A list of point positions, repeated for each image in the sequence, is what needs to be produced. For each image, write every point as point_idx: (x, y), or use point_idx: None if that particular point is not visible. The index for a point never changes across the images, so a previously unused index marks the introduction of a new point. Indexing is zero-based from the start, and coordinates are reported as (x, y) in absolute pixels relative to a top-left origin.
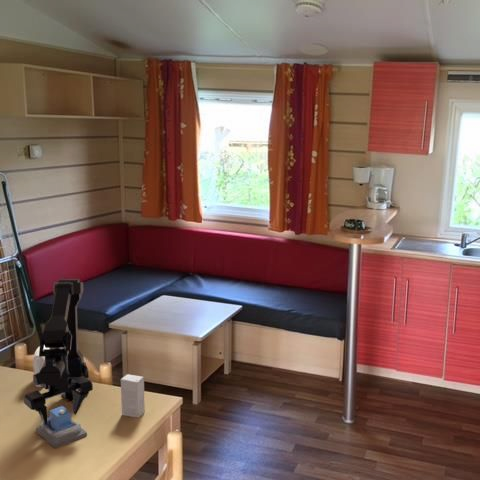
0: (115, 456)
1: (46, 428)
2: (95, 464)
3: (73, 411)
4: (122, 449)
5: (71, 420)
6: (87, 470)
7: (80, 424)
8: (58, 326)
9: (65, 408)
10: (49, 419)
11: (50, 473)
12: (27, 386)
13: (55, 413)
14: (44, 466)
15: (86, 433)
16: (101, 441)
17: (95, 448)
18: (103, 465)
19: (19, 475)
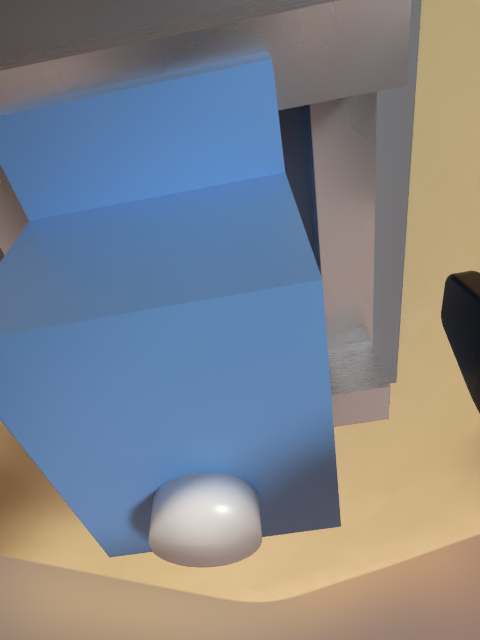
0: (388, 555)
1: (2, 207)
2: (277, 566)
3: (461, 291)
4: (454, 532)
5: (409, 55)
6: (227, 581)
7: (384, 410)
8: None
9: (325, 414)
10: (18, 182)
11: (54, 557)
12: None
13: (83, 486)
14: (20, 517)
15: (388, 377)
16: (420, 451)
17: (345, 488)
18: (305, 577)
19: None
